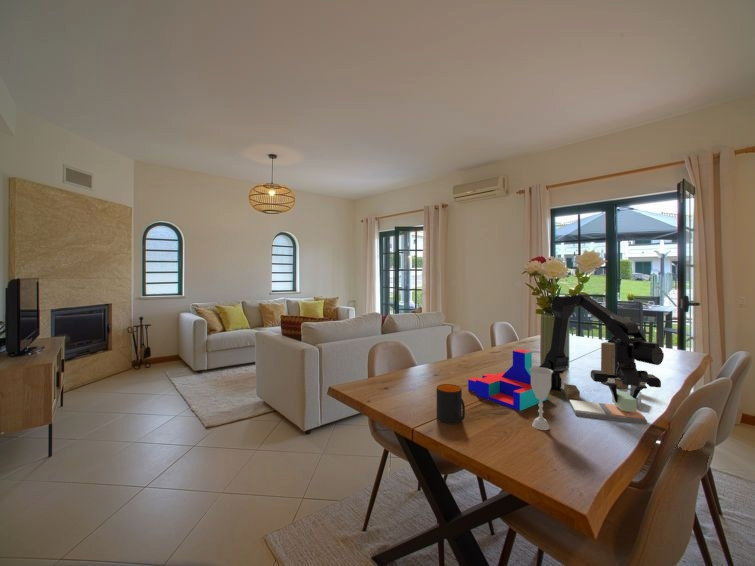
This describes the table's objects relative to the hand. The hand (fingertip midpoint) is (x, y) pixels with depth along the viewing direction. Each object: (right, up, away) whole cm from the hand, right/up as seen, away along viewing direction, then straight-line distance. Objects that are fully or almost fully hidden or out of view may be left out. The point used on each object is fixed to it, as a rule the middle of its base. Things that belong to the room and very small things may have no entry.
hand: (623, 403), depth 114 cm
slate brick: (+11, -4, +10) cm, 15 cm away
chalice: (-32, -5, -8) cm, 34 cm away
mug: (-59, -5, -3) cm, 60 cm away
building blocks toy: (-33, -5, +20) cm, 39 cm away
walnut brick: (-8, -4, +17) cm, 19 cm away
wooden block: (+18, -4, +30) cm, 36 cm away
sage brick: (0, -1, 0) cm, 1 cm away
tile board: (-5, -4, +2) cm, 7 cm away
